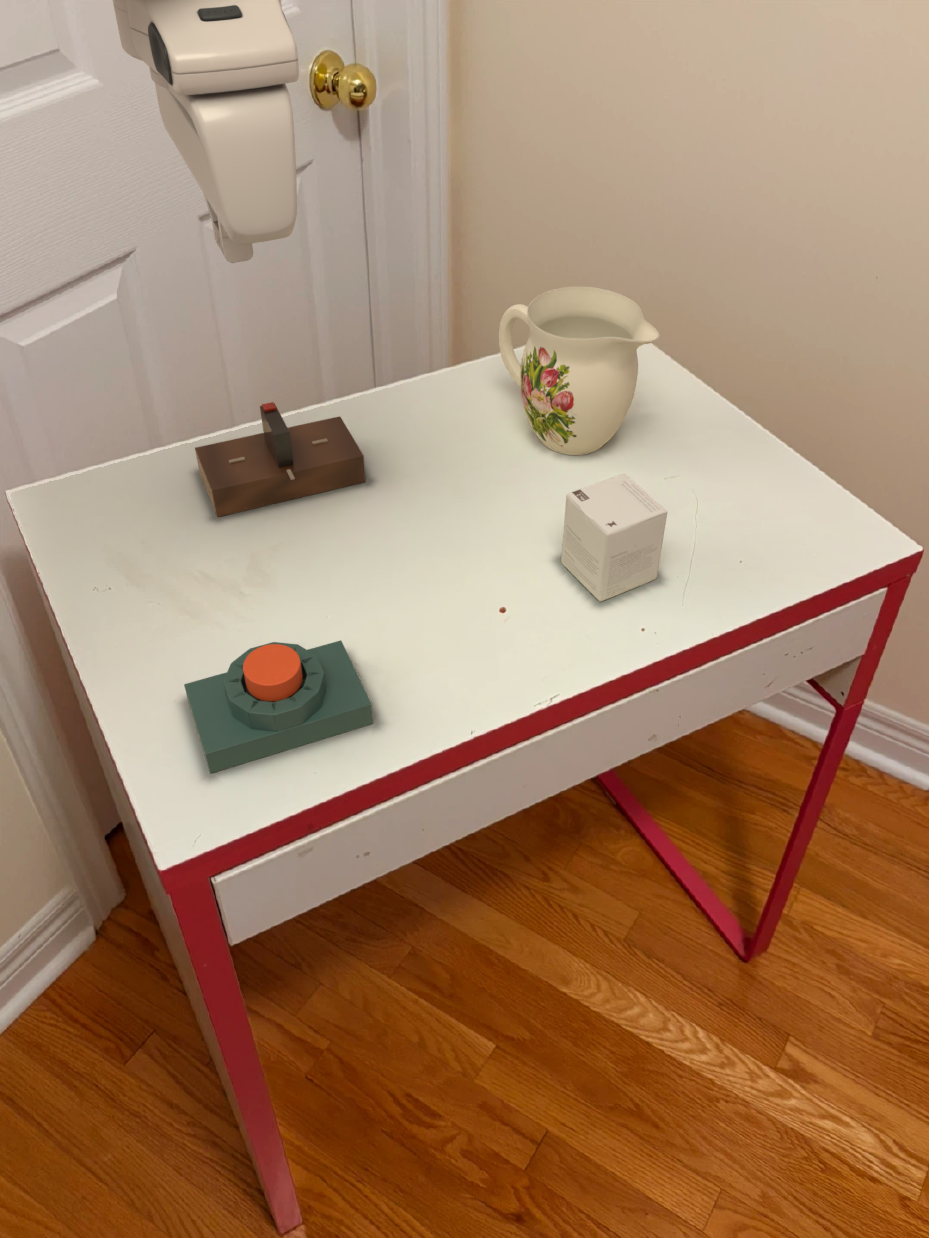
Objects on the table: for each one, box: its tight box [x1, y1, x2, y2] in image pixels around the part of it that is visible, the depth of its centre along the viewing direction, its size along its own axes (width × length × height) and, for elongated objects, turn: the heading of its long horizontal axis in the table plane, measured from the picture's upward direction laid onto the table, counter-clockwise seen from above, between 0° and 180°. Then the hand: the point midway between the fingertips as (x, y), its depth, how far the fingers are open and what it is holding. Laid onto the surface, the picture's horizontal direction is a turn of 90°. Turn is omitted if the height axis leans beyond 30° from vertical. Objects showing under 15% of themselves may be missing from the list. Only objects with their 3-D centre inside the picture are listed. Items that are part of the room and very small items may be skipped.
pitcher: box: [498, 285, 661, 456], centre depth 99 cm, size 11×18×14 cm, turn 45°
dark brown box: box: [259, 401, 294, 467], centre depth 95 cm, size 5×1×4 cm, turn 23°
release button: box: [243, 644, 303, 702], centre depth 74 cm, size 4×4×2 cm
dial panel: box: [194, 415, 366, 518], centre depth 97 cm, size 14×9×3 cm, turn 113°
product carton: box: [560, 473, 668, 602], centre depth 87 cm, size 6×6×7 cm
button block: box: [183, 640, 374, 774], centre depth 76 cm, size 12×7×4 cm, turn 113°
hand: (234, 252), depth 67 cm, fingers closed
